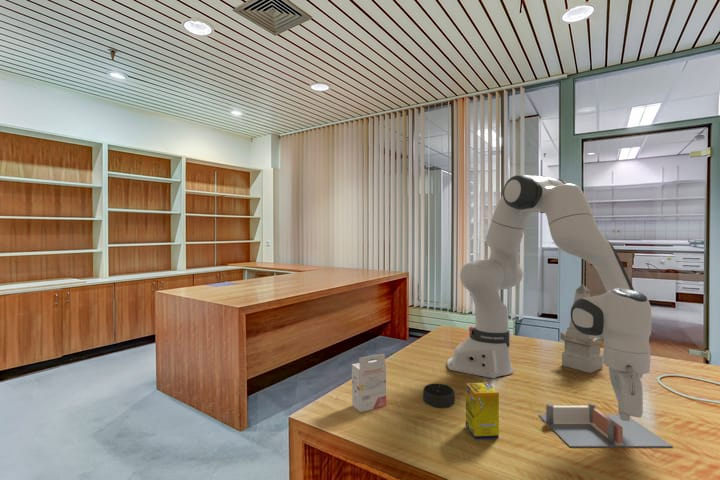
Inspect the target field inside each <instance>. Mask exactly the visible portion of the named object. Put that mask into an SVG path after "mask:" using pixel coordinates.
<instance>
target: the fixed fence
mask: <svg viewBox="0 0 720 480" xmlns="http://www.w3.org/2000/svg"><path fill="white" fill-rule="evenodd" d="M545 406H546V407H545V409H546V411H545V415H546V422H547V423H549V424H553V423H589V422H590V423H593V409H596V404H595V403H592V402H591V403H588V405H553V404H550V403H546V405H545ZM608 442H609V443H611V444H614V423H611V422H608Z"/></svg>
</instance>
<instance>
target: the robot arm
mask: <svg viewBox="0 0 720 480" xmlns="http://www.w3.org/2000/svg"><path fill="white" fill-rule="evenodd" d="M533 213H540V214H545V216H546V218H547V224H548V228H549V232H550V236H551V239H552V240H553V243H554V245H555V246H556V247H558V249H560V251H563V252H564V253H566V254H569V255H572V256H575V257H577V258H579V259H582V260H584V261H585V262H587V263H589V264H590V265H592V266H593V267H594V268H595V270H596V271H597V273H598V276H599V278H600V279H601V282H602V284H603V286H604V289H605V291H606V292H604V293H602V294H599V295H593V296H590V297H586V298H581V299H578V300H576V301H575V302H574V301H573V303H572V306H571V307H570V321H571V320H572V323H573V325H574V327H575V328H576V329H577V330H578V331H579V332H581V333H583V334H586V335H591V336H601V337H603V338H604V342H603V354H602V356H603V365H605V366H606V367H608V370H609V380H610V383H611V386H612V388H613V391H614V392H613V393H614V394H615V397H616V400H617V403H618V404H617V407H618V415H619V416H620V419H621V420H623V421H629V420H630V418H631V417H633V418H634V417H635V418H642V416H643V411H644V408H643V407H644V406H643V404H644V401H643V400H644V398H643V397H644V396H643V395H644V394H643V393H644V392H643V384H642V380H641V379H643V377H644V375H645V374H646V375H647V374H648V373H650V372H651V346H650V337H651V334H652V327H653V326H652V325H653V323H652V321H653V319H652V307H651V304H650V300H649V297H648V296H646V295H645V294H643V293H642V292H639V291H638V290H635V288H634V287H633V284H632V282H631V280H630V278H629V276H628V273H627V271H626V270H625V267H624V265H623V263H622V261H621V258H620V257H619V255H618V252H617V251H616V249H615V247H614V246H613V244H612V243H611V242H610V241H609V240H608V239H607V238H606V237H605V236H604V235H603V233H602V232H601V230H600V228H599V227H598V225H597V223H596V221H595V217H594V213H593V211H592V208H591V205H590V203H589V200H588V199H587V197H586V195H585V193H584V192H583V190H582V188H581V187H580V186H579V185H577V184H574V183H568V182H567V181H565V180H562V179H559V178H553V177H549V176H544V175H528V174H517V175H514V176H511V177H510V178H508V180H506V182H505V184H504V186H503V190H502V196H501V197H500V199H499V200H498V202H497V204H496V207H495V209H494V212H493V215H492V218H491V221H490V224H489V227H488V229H487V234H486V237H485V243H486V244H487V246H488V247H489V248H490V255H489V258H488V259H480V260H479V259H477V260H474V261H473V260H472V261H471V262H468V263H465V264H463V266H462V268H461V269H460V273H459V279H460V282H461V284H462V285H463V287H464V288H465V289H466V290H467V291H468V292H469V294H470V296H471V298H472V301H473V305H474V314H475V315H474V319H475V321H474V322H475V326H473V325H471V326H469V328H468V331H469V337H468V338H467V339H465V340H463V341H462V342H461V343H459V344H458V345H457V346H456V347H455V349H454V352H453V356H451V357H449V358H448V360H447V363H446V367H447V368H448V369H449V370H450V371H454V372H458V373H465V374H470V375H474V376H479V377H484V378H491V379H496V378H498V377H501V376H502V377H503V376H509V375H511V374H513V373H514V369H513V365H512V360H511V356H510V345H511V334H510V330H509V309H508V306H507V305H506V304H505V303H504V302H503V301H502V300H501V297H500V293H499V292H500V290H508V289H511V288H513V287H515V286H518V285H519V284H520V283H521V282H522V280H523V275H524V274H523V269H522V267H521V265H520V264H519V263H520V262H519V249H520V245H521V242H522V239H523V236H524V233H525V230H526V227H527V224H528V221H529V217H530V216H531V215H532V214H533Z"/></svg>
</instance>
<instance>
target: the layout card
mask: <svg viewBox="0 0 720 480" xmlns="http://www.w3.org/2000/svg"><path fill="white" fill-rule="evenodd" d="M605 415H606V416H608V417H609V418H610V419H612V420H613V421H614V422H616V423H617V424H619V425H620V426H621V427H623V443H617V442H616V441H615V440H614V444H611V443H609V442H608V435H607V434H606V433H605V432H604V431H602V430H601V429H600V428H599V427H598V426H596V425H595V424H594V423H590V422H589V423H553V424H549V423H547V422H546V414H538V417H539V418H540V419H541V420H542V421H543V422H544V423H545V424H546V425H547V426H548V427H549V428H550V429H551V430H552V431H553V432H554V433H555V434H556V436H558V437H559V438H560V439H561V440H562V441H563V442H564V443H565V444H566V445H567V446H568V447H569V448H674V446H673V445H672V444H670V443H669V442H667V441H666V440H665V439H663V438H661V437H660V436H659V435H657V434H656V433H654V432H652V431H651V430H649V429H648V428H647V427H645V426H643V425H642V424H640V423H639V422H638V421H636V420H635V419H633V418H631V417H630V420H629V421H623V420H621V419H620V416H619V414H605Z"/></svg>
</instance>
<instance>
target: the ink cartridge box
mask: <svg viewBox="0 0 720 480" xmlns="http://www.w3.org/2000/svg"><path fill="white" fill-rule="evenodd" d="M372 359H373V360H372ZM358 360H359V361H358V363H352V364H351V396H352V398H351V400H352V401H351V402H352V407H353V408H354V409H356V410H357V411H358V412H360V413H362V412H367V411H370V410H375V409H379V408H382V407H385V406H387V374H386V373H387V367H386V366H387V365H386V354H385V353H379V354H372V355H367V356H363V357H359V358H358Z"/></svg>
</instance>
